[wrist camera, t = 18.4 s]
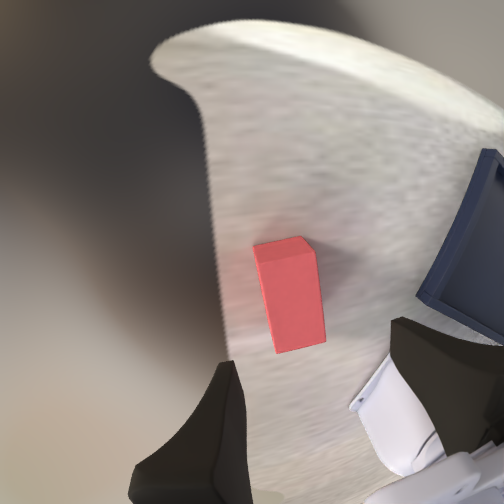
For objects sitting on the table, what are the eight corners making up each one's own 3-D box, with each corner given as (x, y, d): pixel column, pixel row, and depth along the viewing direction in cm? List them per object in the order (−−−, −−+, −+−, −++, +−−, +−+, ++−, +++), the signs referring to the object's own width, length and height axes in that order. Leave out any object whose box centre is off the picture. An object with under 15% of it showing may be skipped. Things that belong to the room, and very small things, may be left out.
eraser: (313, 315, 22) (326, 342, 18) (269, 326, 22) (276, 354, 18) (301, 235, 20) (315, 250, 16) (252, 245, 20) (257, 263, 16)
